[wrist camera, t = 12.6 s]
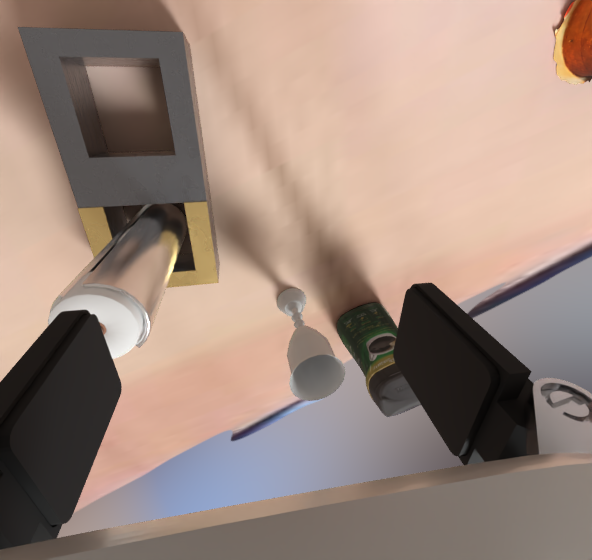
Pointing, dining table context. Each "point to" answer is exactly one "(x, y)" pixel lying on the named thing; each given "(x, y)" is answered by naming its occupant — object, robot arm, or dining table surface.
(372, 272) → the dining table surface
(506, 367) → the robot arm
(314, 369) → the chalice
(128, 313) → the silver long cylinder
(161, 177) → the dock
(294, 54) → the dining table surface
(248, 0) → the dining table surface
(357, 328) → the coffee jar
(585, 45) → the vessel
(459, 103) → the dining table surface
